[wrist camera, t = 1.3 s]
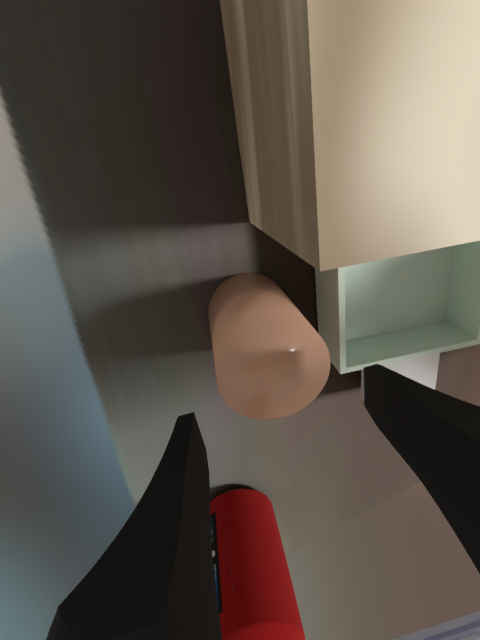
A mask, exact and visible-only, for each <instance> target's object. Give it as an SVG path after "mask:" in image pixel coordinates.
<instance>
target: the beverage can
mask: <svg viewBox="0 0 480 640" xmlns="http://www.w3.org/2000/svg"><path fill="white" fill-rule="evenodd" d="M210 533H211V548H212V557H213V566H214V576H215V584H216V593H217V601H218V609H219V617H220V625H221V633H222V640H305V635H304V631H303V627H302V622H301V618H300V614H299V610H298V606H297V602H296V598H295V593H294V589H293V585H292V581H291V577H290V573H289V569H288V565H287V561H286V557H285V553H284V549H283V545H282V541H281V537H280V533H279V530H278V526H277V522H276V518H275V514H274V511H273V507H272V503H271V501H270V500H269V498H268V497H267V496H266V495H264V494H263V493H261V492H259V491H256V490H252V489H233V490H230V491H227V492H225V493H223V494H221V495H219V496H217V497H216V498H214V499H213V500H212V501H211V502H210Z"/></svg>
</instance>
